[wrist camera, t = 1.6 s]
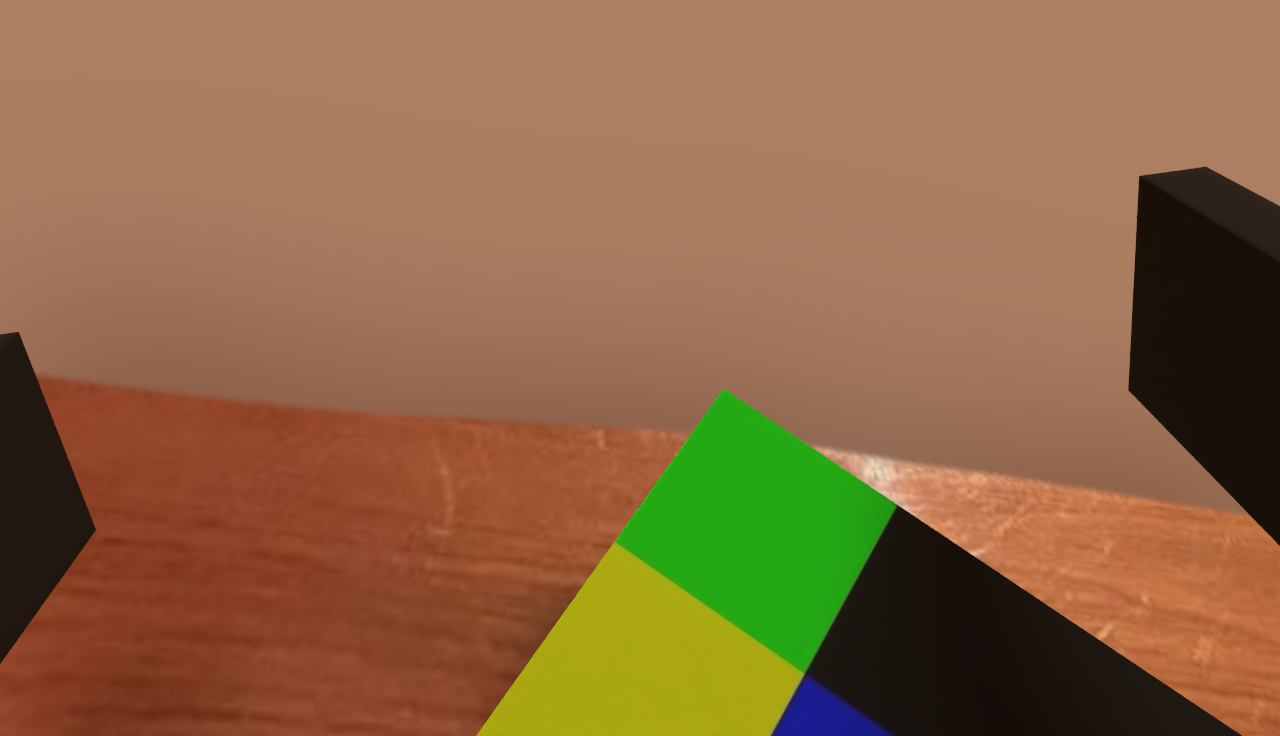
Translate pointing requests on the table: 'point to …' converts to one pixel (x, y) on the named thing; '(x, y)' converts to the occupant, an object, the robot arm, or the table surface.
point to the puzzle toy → (814, 620)
